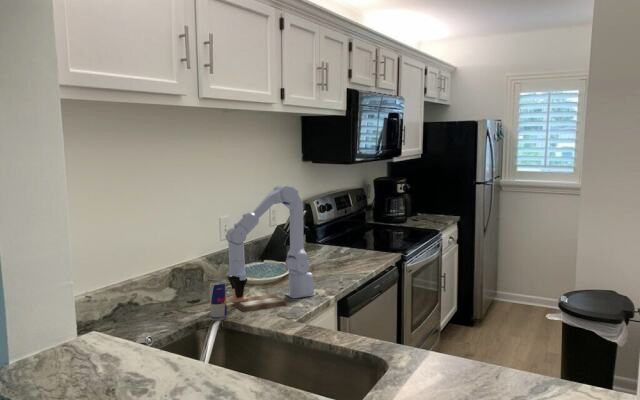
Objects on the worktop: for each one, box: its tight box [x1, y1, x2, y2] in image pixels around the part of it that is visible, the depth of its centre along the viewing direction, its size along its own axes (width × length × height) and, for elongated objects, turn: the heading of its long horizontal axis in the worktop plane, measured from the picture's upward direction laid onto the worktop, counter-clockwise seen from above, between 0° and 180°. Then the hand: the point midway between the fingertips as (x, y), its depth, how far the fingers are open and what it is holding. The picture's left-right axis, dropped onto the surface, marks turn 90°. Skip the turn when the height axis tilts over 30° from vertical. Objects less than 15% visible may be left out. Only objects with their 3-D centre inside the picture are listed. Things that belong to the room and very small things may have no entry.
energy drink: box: [208, 281, 228, 322], centre depth 164 cm, size 5×5×12 cm
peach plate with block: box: [228, 288, 249, 304], centre depth 182 cm, size 6×5×4 cm
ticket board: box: [233, 293, 287, 312], centre depth 182 cm, size 16×14×2 cm
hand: (238, 296), depth 182 cm, fingers closed on peach plate with block, 3 cm apart
